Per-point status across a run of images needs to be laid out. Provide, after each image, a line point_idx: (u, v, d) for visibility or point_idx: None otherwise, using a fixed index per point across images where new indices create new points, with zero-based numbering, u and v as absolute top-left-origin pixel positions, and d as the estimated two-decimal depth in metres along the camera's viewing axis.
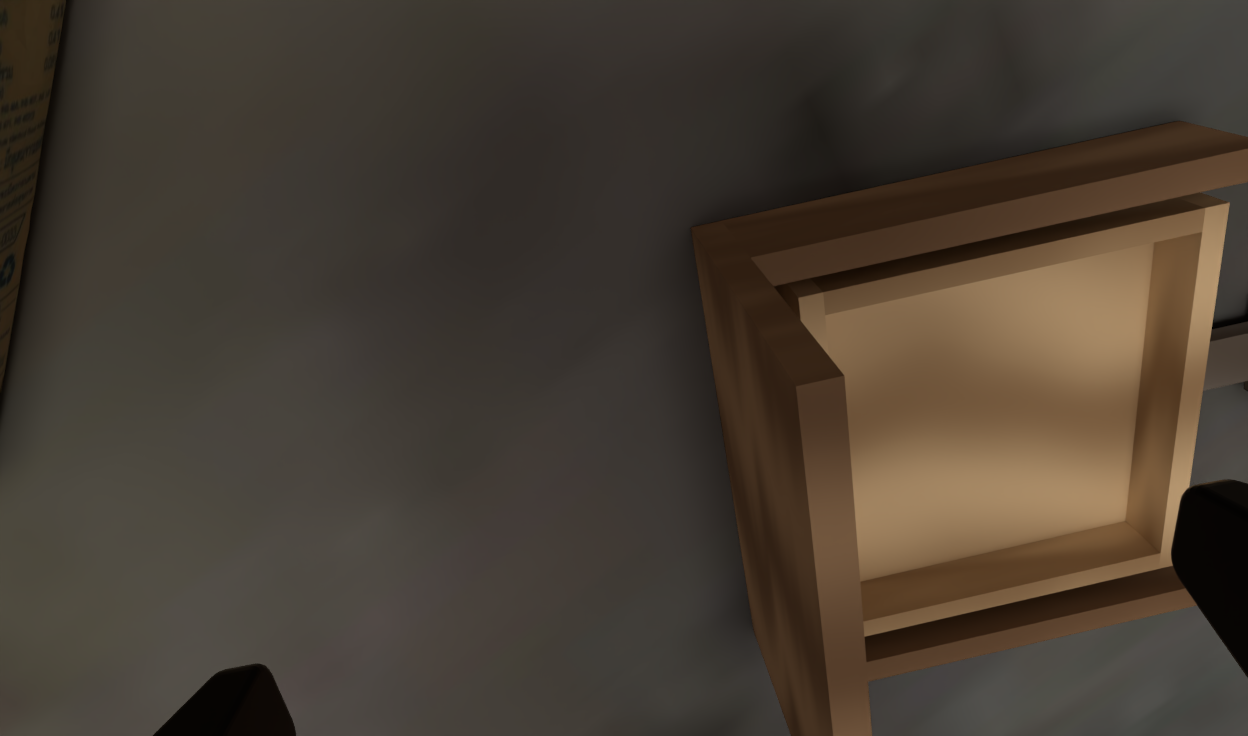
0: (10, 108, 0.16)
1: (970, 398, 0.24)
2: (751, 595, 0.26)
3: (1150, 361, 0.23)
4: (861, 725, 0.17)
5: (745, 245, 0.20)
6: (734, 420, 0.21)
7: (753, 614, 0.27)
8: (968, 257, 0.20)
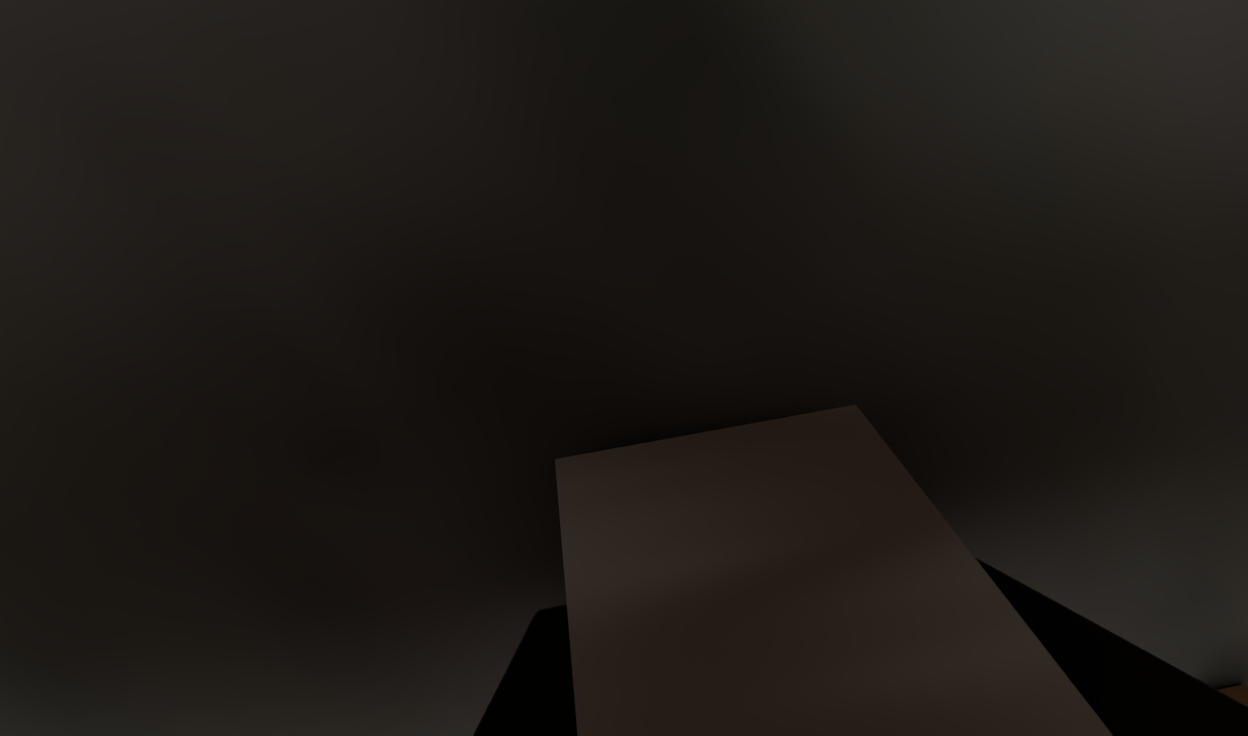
0: None
1: None
2: None
3: None
4: None
5: None
6: None
7: None
8: None
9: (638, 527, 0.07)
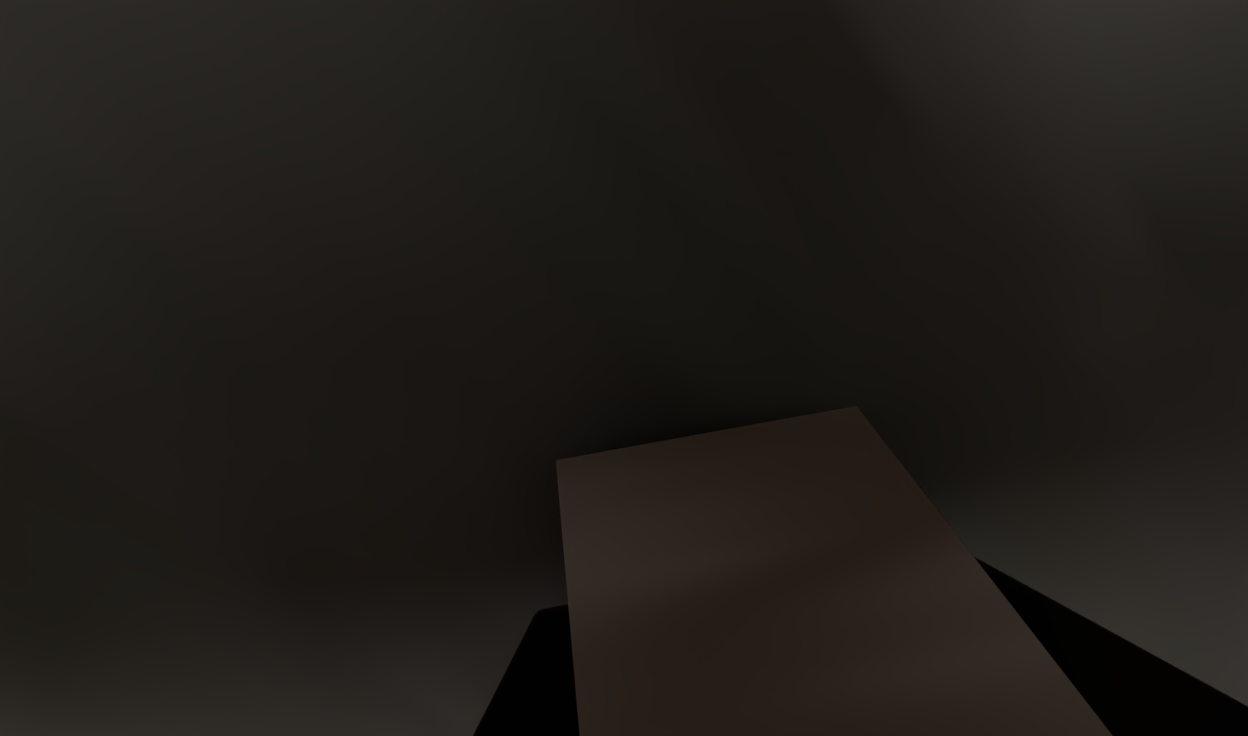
0: None
1: None
2: None
3: None
4: None
5: None
6: None
7: None
8: None
9: (639, 530, 0.07)
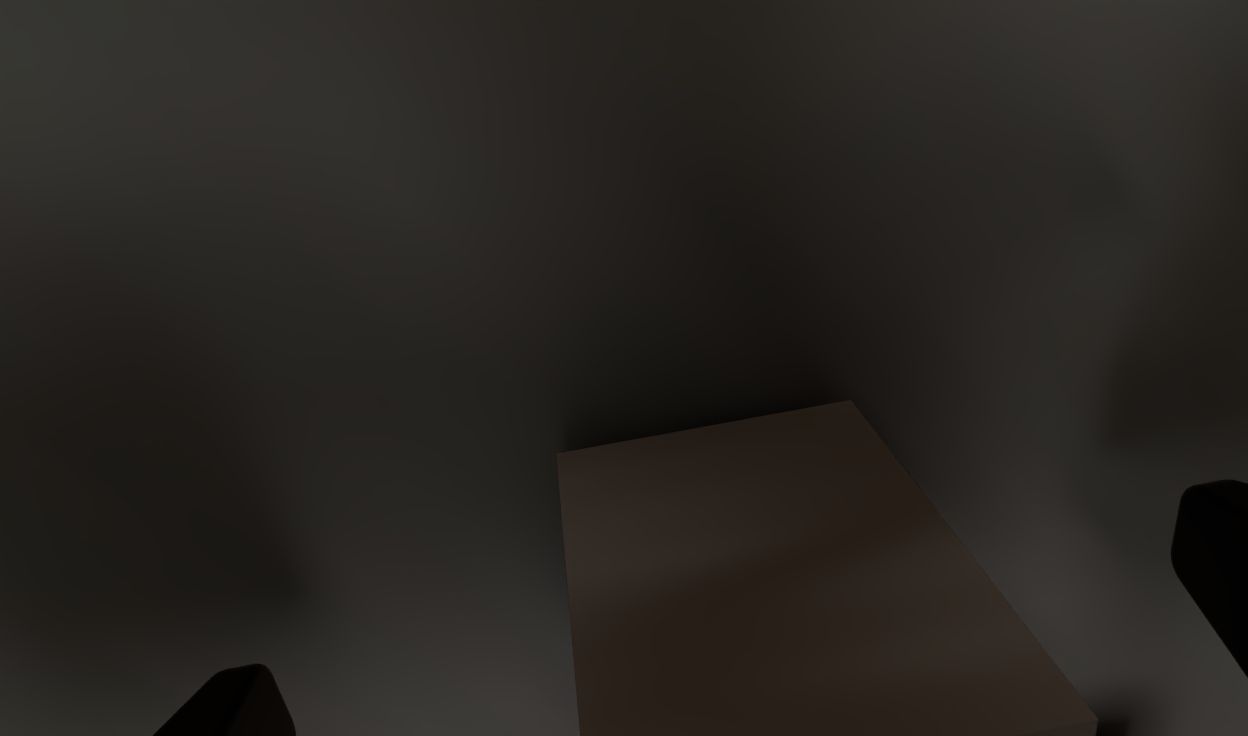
0: None
1: None
2: None
3: None
4: None
5: None
6: None
7: None
8: None
9: (636, 520, 0.07)
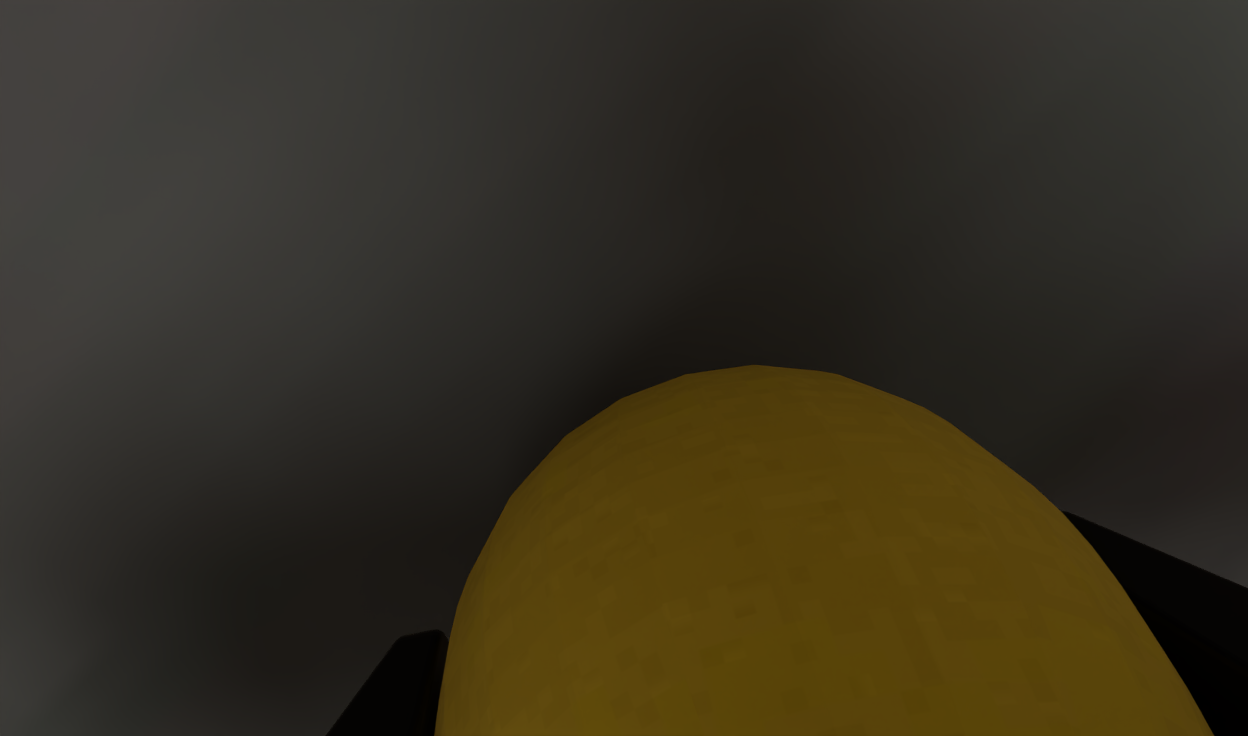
0: None
1: None
2: None
3: None
4: None
5: None
6: None
7: None
8: None
9: None
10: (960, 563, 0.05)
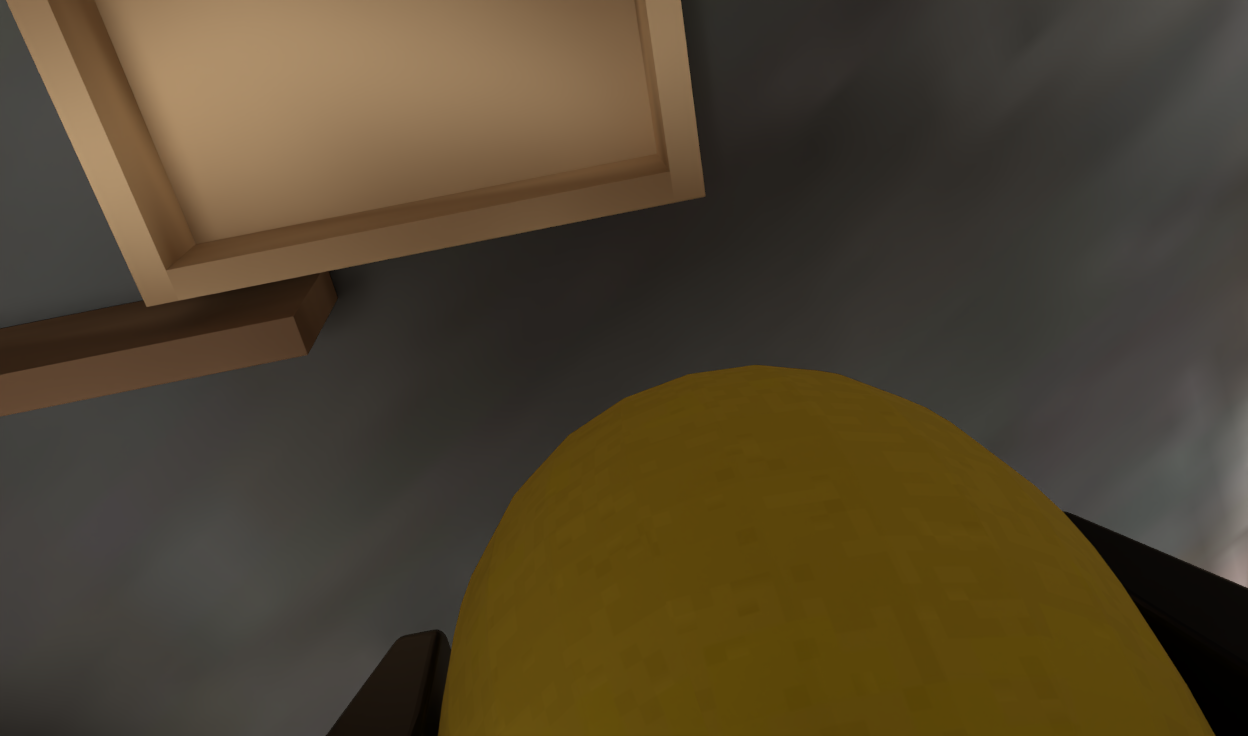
0: None
1: None
2: None
3: None
4: None
5: None
6: None
7: None
8: None
9: None
10: (961, 562, 0.05)
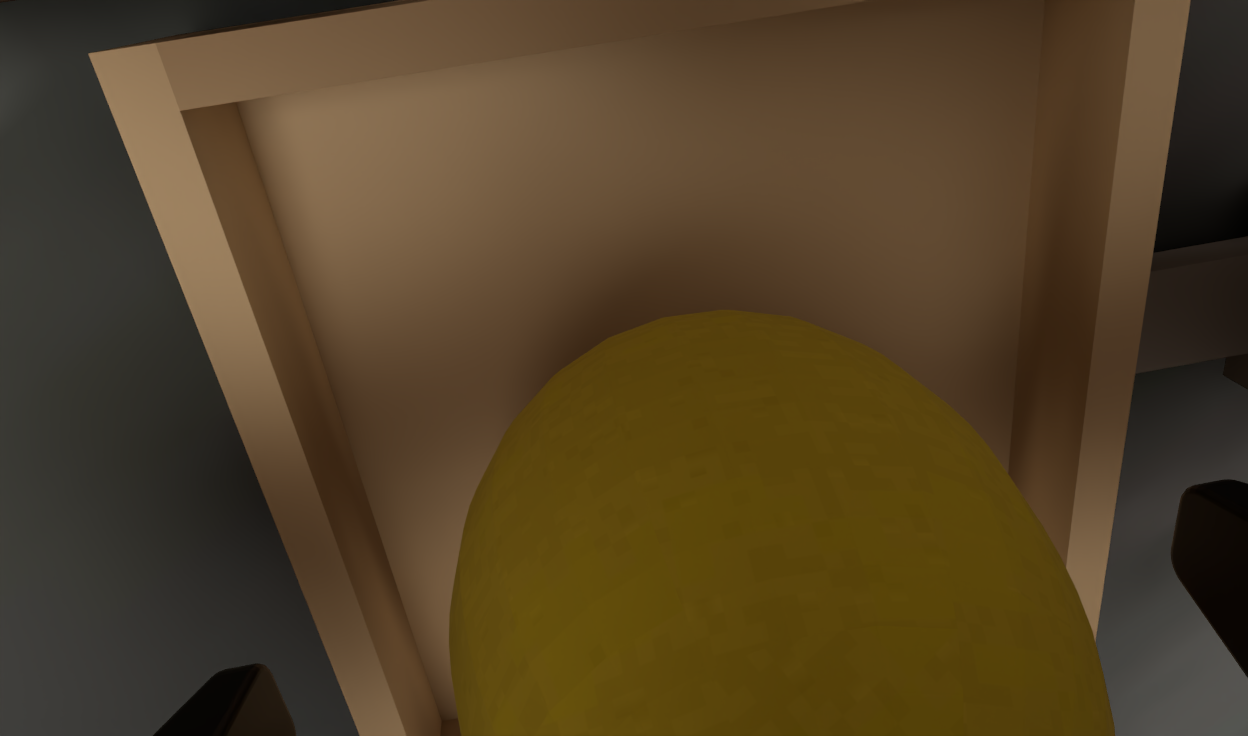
0: None
1: None
2: None
3: (1036, 300, 0.11)
4: None
5: None
6: None
7: None
8: None
9: None
10: (868, 441, 0.06)
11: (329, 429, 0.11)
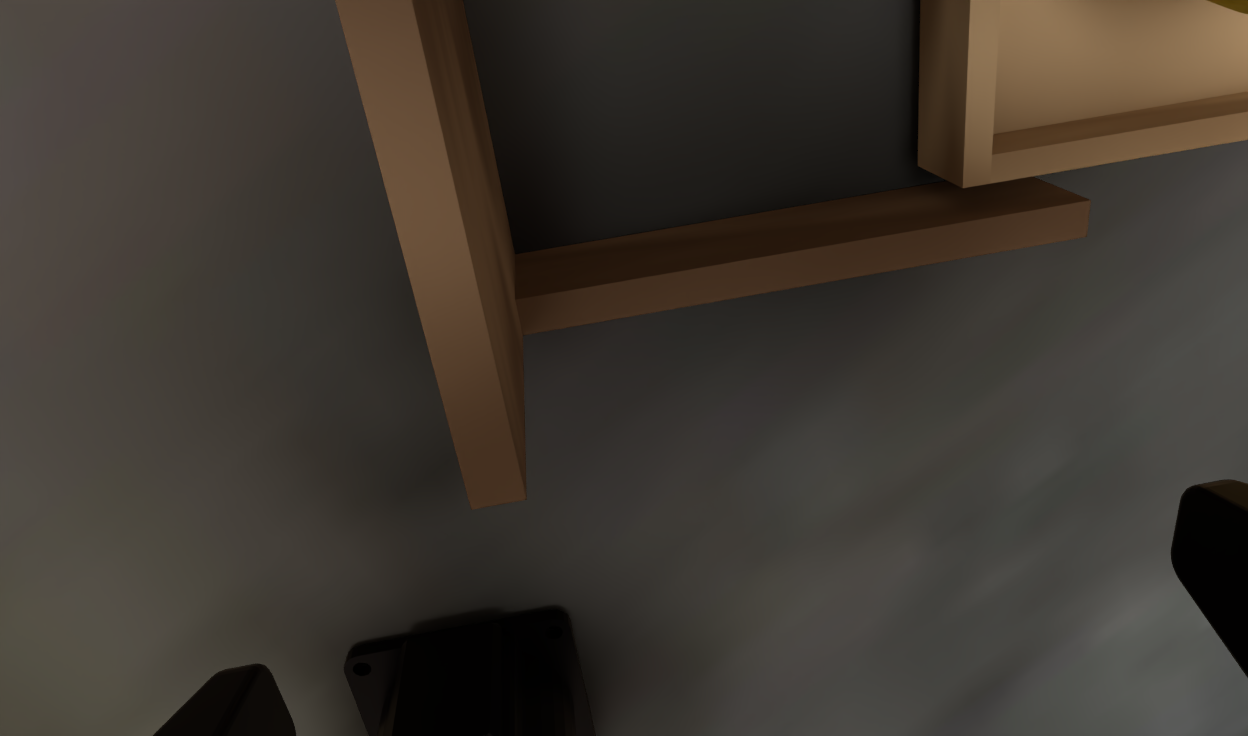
0: None
1: None
2: None
3: None
4: (411, 76, 0.10)
5: None
6: None
7: None
8: None
9: None
10: None
11: None
